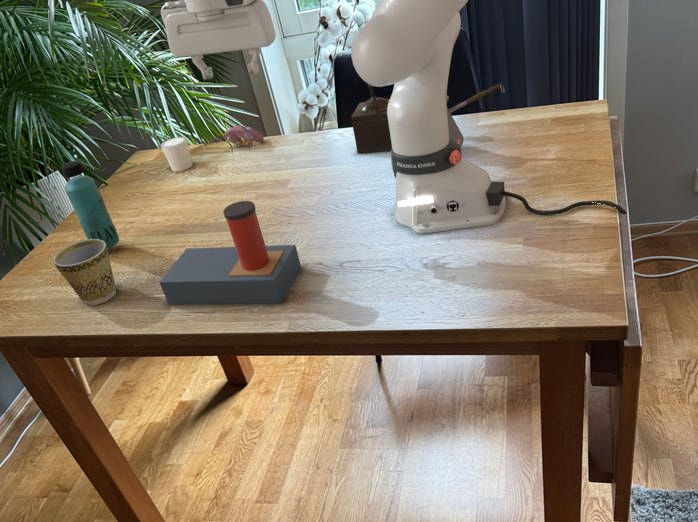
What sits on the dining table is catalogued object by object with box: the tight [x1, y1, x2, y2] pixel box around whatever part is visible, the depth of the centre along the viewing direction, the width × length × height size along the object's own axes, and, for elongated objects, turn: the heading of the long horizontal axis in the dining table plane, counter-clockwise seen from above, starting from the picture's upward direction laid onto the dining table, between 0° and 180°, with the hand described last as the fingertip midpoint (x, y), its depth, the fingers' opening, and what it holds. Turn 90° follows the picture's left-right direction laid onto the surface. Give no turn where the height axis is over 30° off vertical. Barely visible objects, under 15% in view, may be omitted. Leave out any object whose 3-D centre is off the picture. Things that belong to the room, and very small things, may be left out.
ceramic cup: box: [52, 239, 117, 306], centre depth 136 cm, size 13×10×10 cm
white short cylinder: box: [160, 136, 193, 172], centre depth 184 cm, size 7×7×7 cm
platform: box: [159, 244, 302, 305], centre depth 131 cm, size 23×12×5 cm, turn 77°
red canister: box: [222, 200, 269, 270], centre depth 124 cm, size 6×6×11 cm
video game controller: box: [223, 125, 265, 147], centre depth 190 cm, size 10×5×7 cm, turn 68°
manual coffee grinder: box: [350, 83, 392, 154], centre depth 172 cm, size 16×11×18 cm
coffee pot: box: [446, 83, 506, 147], centre depth 159 cm, size 21×12×15 cm, turn 75°
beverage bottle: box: [61, 160, 120, 250], centre depth 148 cm, size 6×7×20 cm
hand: (231, 75), depth 132 cm, fingers open, 8 cm apart
